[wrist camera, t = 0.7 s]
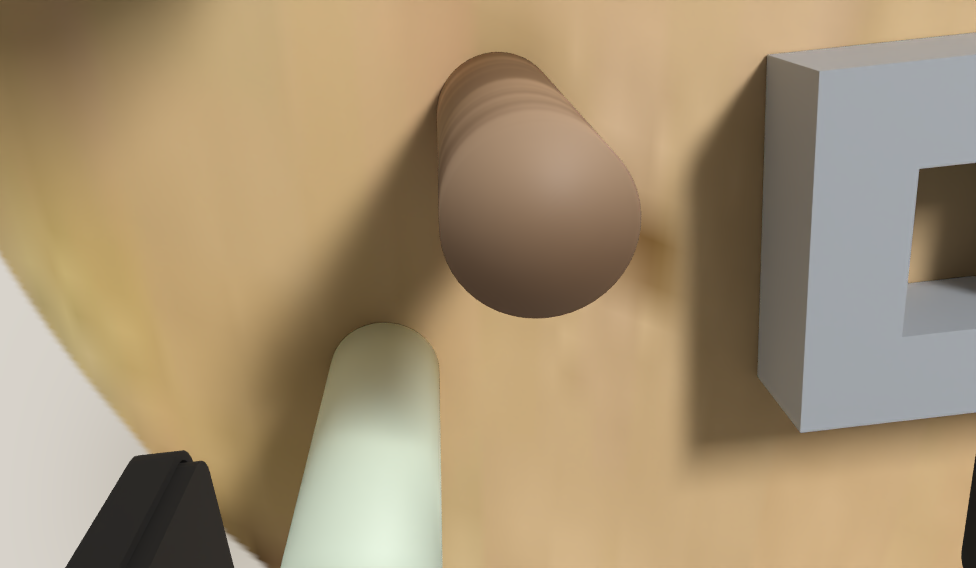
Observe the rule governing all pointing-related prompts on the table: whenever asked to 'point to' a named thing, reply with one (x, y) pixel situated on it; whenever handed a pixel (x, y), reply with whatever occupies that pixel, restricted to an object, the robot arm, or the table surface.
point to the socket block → (863, 233)
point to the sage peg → (373, 458)
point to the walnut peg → (528, 192)
